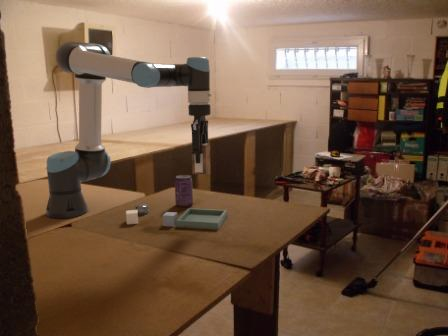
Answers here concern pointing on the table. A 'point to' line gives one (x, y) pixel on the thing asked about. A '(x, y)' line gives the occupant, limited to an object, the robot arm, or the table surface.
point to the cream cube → (132, 216)
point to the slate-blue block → (170, 219)
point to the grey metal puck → (142, 209)
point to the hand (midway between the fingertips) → (201, 170)
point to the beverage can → (183, 190)
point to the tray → (202, 218)
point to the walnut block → (205, 159)
